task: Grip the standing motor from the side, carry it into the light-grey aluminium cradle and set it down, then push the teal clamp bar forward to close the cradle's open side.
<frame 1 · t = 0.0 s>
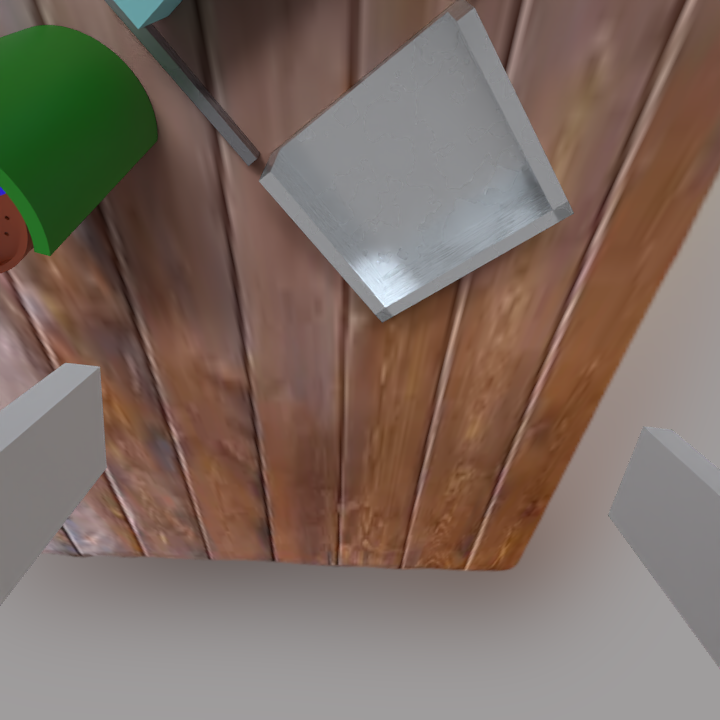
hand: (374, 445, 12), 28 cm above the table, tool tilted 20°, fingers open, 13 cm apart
motor: (75, 105, 33), on the table
cradle: (408, 159, 35), on the table
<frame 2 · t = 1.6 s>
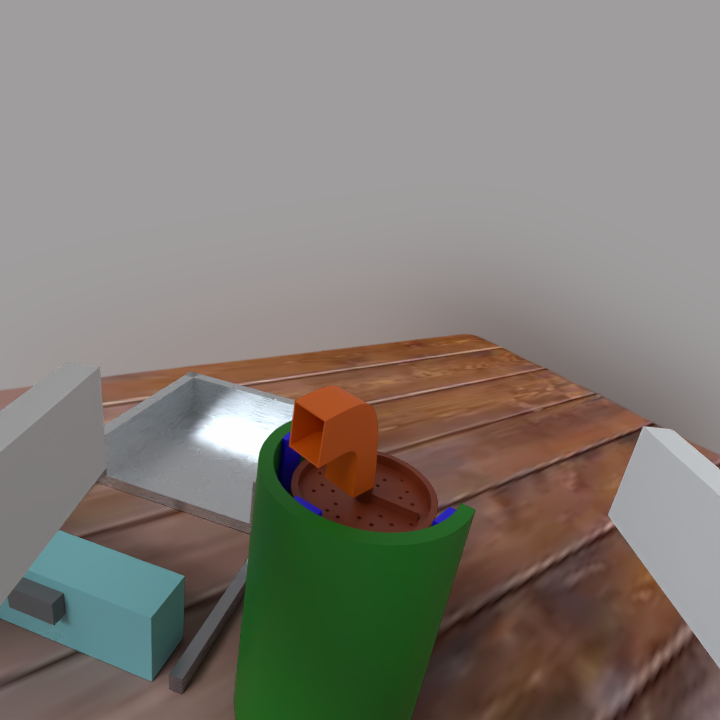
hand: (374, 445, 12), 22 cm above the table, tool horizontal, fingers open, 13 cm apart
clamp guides: (119, 565, 35), on the table
clamp bar: (59, 592, 29), point 3 cm above the table, slide at 0.0 cm
motor: (317, 701, 28), on the table
cradle: (215, 469, 46), on the table
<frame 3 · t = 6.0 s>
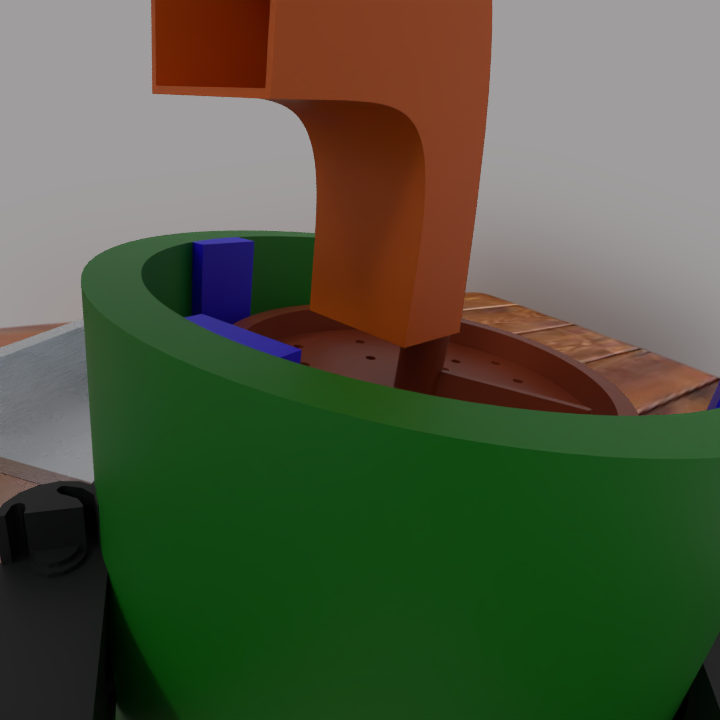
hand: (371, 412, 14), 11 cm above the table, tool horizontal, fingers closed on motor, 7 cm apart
cradle: (147, 436, 31), on the table
when the fingers open (13 cm above the table, at t = 11.9 s): motor drops 1 cm, resting on cradle.
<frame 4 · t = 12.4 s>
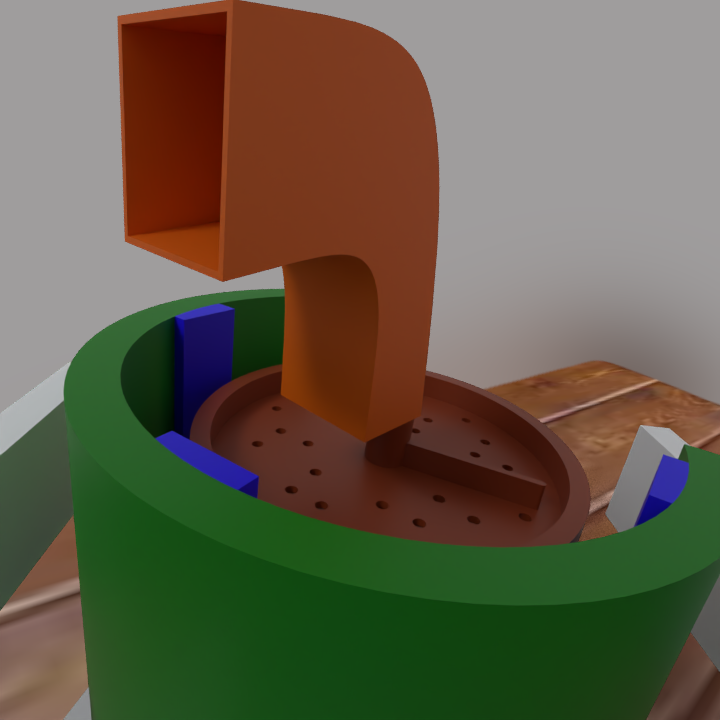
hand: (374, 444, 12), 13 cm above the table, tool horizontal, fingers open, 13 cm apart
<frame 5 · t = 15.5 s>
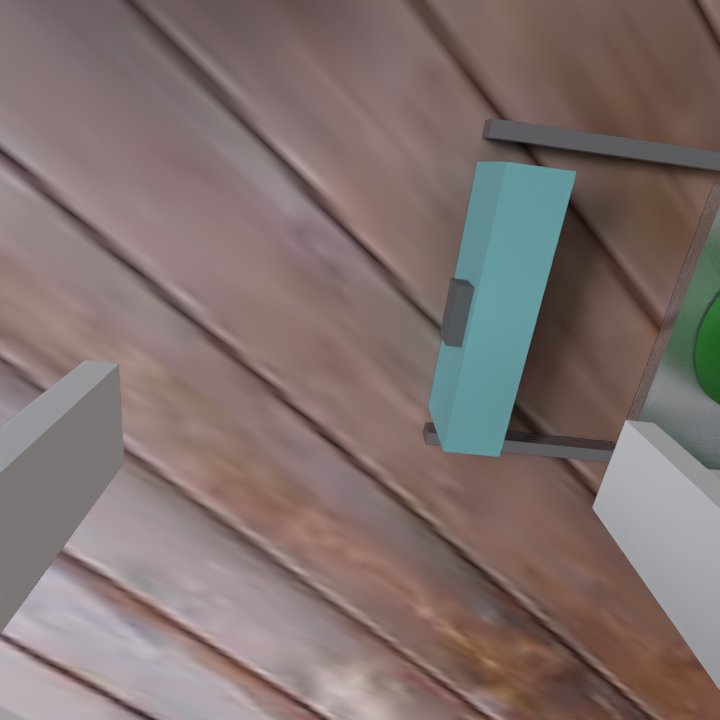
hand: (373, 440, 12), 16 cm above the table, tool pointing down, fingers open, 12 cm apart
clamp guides: (554, 308, 28), on the table
clamp bar: (481, 310, 26), point 2 cm above the table, slide at 0.0 cm
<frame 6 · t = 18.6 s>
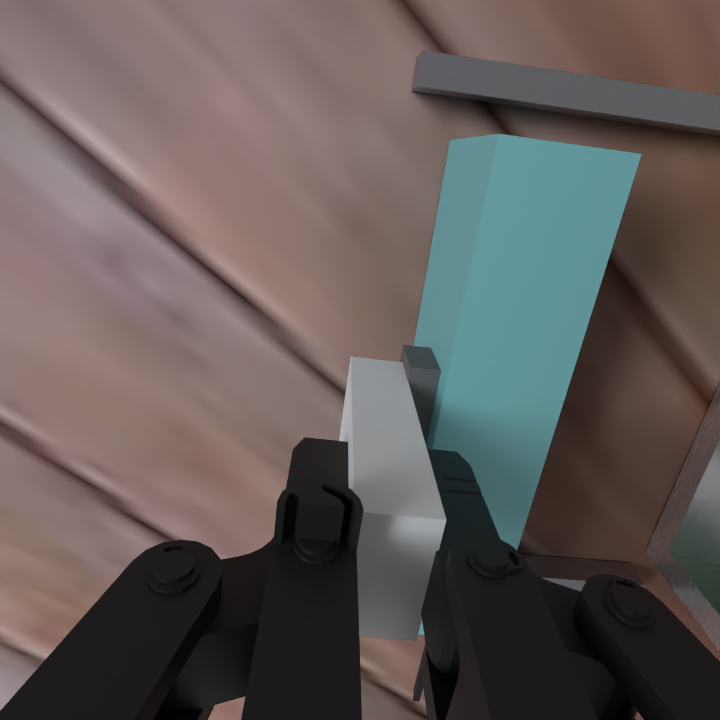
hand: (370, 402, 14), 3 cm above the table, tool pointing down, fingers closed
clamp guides: (542, 373, 18), on the table
clamp bar: (457, 395, 15), point 2 cm above the table, slide at 1.3 cm, touching gripper
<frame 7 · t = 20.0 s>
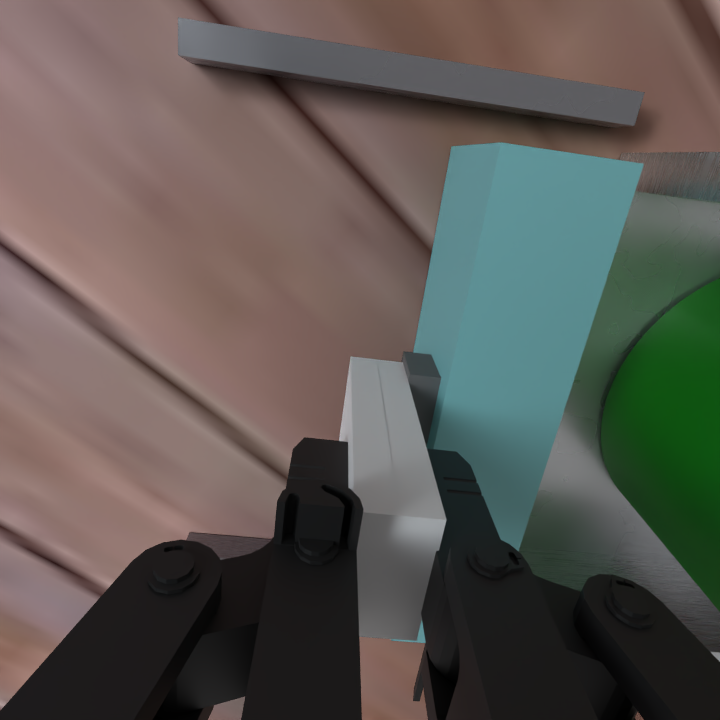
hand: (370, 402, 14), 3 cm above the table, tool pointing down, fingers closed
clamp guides: (368, 360, 17), on the table
clamp bar: (456, 402, 15), point 2 cm above the table, slide at 7.5 cm, touching gripper
cradle: (711, 399, 18), on the table
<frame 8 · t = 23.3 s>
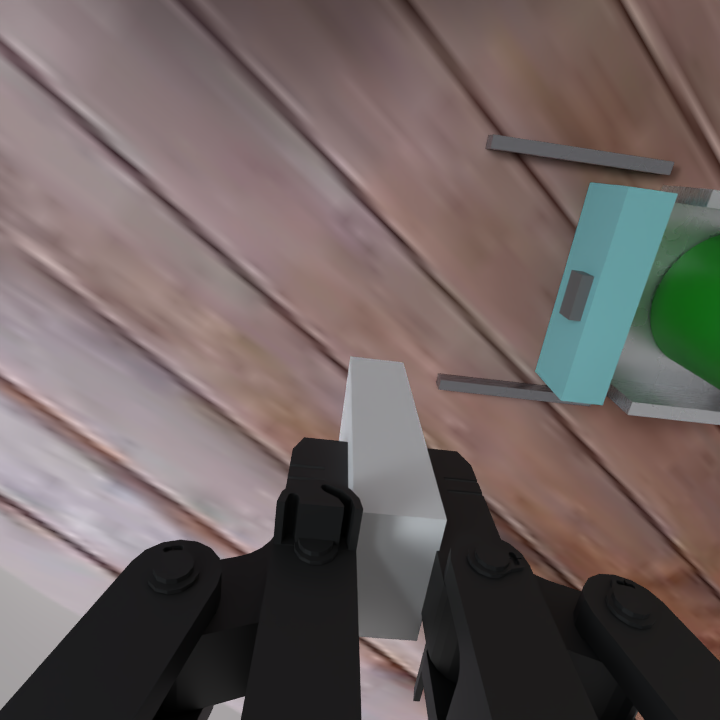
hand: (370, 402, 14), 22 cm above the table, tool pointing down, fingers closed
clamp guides: (540, 281, 36), on the table
clamp bar: (590, 294, 34), point 3 cm above the table, slide at 7.5 cm
motor: (711, 298, 36), point 1 cm above the table, touching cradle
cradle: (702, 302, 37), on the table
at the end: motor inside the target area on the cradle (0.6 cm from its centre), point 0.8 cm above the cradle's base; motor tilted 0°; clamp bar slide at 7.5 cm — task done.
